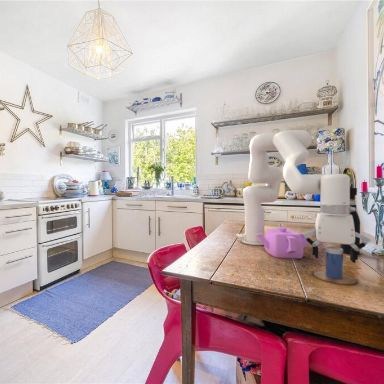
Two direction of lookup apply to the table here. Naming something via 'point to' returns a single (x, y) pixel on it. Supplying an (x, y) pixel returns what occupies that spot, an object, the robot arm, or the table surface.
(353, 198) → the black water bottle
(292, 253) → the teakettle
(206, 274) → the table surface
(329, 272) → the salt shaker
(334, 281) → the coaster
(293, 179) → the robot arm
